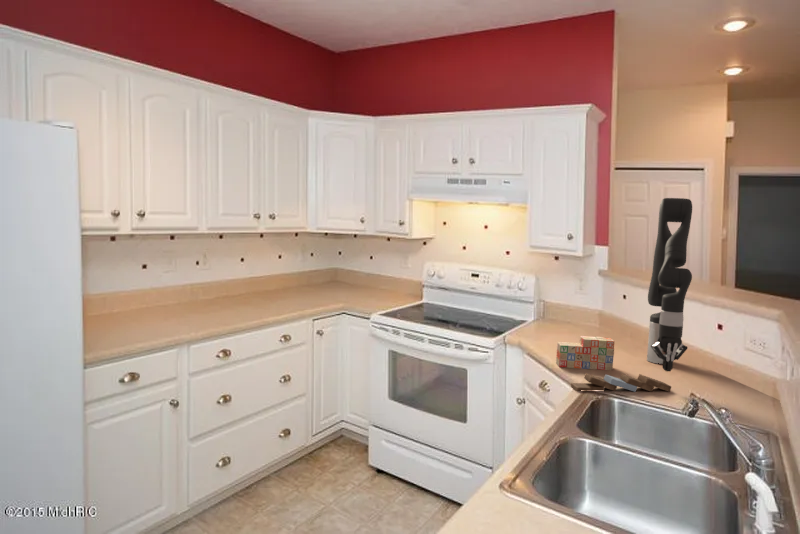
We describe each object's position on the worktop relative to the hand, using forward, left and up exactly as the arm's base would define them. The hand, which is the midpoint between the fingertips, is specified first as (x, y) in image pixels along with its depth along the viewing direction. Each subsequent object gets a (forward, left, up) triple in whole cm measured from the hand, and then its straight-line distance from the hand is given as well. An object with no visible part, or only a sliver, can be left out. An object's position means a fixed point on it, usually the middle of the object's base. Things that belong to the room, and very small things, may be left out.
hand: (667, 370), depth 191 cm
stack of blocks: (+18, -29, -7) cm, 35 cm away
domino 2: (+12, 0, -6) cm, 14 cm away
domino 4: (0, 0, -6) cm, 6 cm away
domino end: (+24, 0, -7) cm, 25 cm away
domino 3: (+6, 0, -6) cm, 9 cm away
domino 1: (+20, 0, -6) cm, 20 cm away
